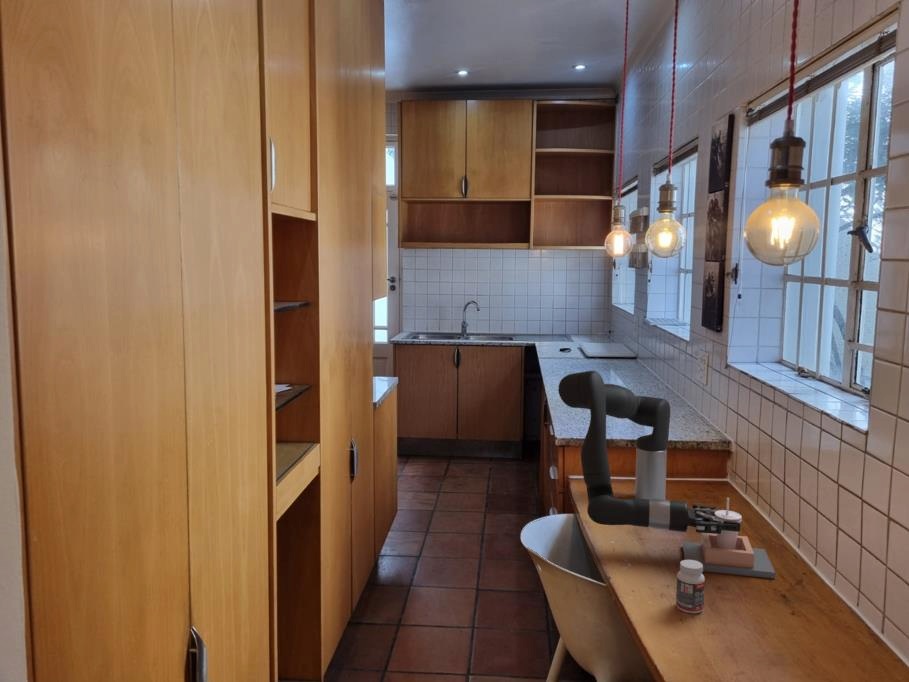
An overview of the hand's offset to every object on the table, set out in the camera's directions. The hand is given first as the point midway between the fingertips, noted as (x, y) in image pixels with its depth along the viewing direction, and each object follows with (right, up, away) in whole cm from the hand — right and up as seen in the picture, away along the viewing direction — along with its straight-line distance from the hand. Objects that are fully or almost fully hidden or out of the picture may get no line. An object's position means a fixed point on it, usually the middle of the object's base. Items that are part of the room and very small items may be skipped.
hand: (737, 521), depth 168 cm
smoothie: (-2, -8, +2) cm, 9 cm away
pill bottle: (-19, -13, -21) cm, 32 cm away
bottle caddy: (-2, -11, +2) cm, 11 cm away
